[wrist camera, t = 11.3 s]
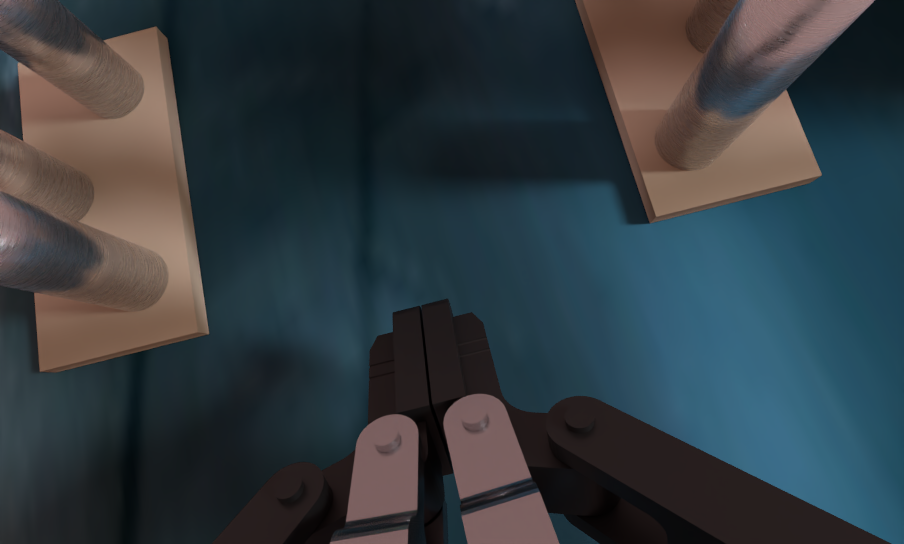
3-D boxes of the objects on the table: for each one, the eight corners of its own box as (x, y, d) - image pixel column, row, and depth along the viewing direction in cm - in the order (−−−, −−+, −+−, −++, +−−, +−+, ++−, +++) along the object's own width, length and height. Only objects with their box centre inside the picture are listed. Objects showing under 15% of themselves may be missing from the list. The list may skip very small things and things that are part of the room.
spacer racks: (808, 183, 20) (821, 175, 19) (57, 372, 20) (39, 371, 20) (692, -100, 23) (700, -117, 22) (33, 73, 23) (17, 62, 22)
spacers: (800, 144, 19) (1055, -55, 11) (45, 335, 20) (-305, 296, 11) (703, -89, 22) (848, -413, 13) (26, 88, 22) (-278, -105, 13)
